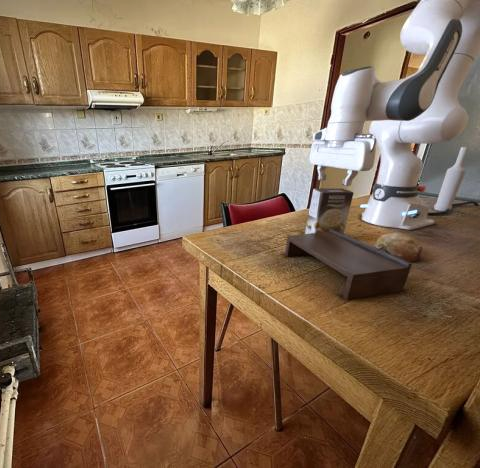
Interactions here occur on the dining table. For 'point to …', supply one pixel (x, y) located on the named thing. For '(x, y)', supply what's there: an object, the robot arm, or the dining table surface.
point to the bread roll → (400, 246)
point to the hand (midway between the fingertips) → (333, 182)
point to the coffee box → (328, 210)
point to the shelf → (353, 262)
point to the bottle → (451, 183)
